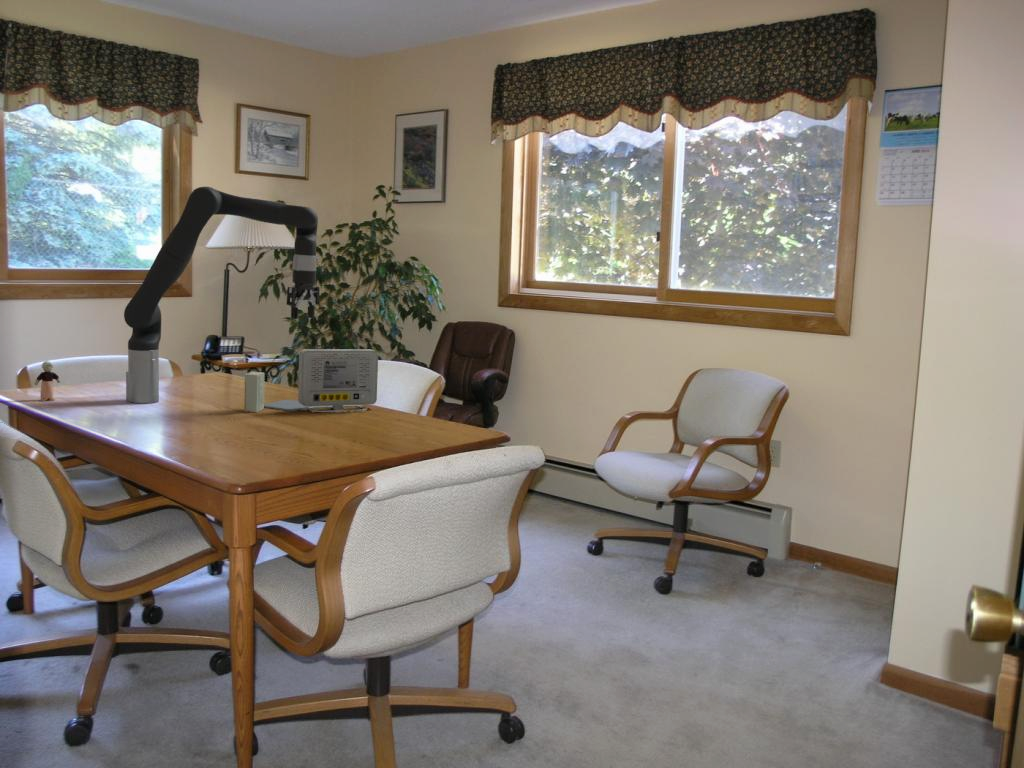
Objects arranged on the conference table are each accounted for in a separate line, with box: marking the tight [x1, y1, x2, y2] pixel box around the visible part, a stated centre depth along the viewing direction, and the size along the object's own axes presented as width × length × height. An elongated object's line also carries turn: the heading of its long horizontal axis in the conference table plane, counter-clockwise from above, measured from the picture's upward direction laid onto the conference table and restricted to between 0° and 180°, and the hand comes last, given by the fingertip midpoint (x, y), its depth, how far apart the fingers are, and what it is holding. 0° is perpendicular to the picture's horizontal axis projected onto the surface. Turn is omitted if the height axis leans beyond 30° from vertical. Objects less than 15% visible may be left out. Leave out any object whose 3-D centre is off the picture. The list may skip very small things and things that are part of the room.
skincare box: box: [243, 371, 265, 413], centre depth 282 cm, size 6×4×12 cm
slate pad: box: [264, 399, 314, 413], centre depth 293 cm, size 14×14×1 cm
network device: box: [297, 348, 379, 413], centre depth 291 cm, size 26×9×20 cm, turn 117°
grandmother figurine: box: [34, 360, 61, 402], centre depth 281 cm, size 8×4×13 cm, turn 150°
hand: (302, 318), depth 290 cm, fingers open, 8 cm apart
